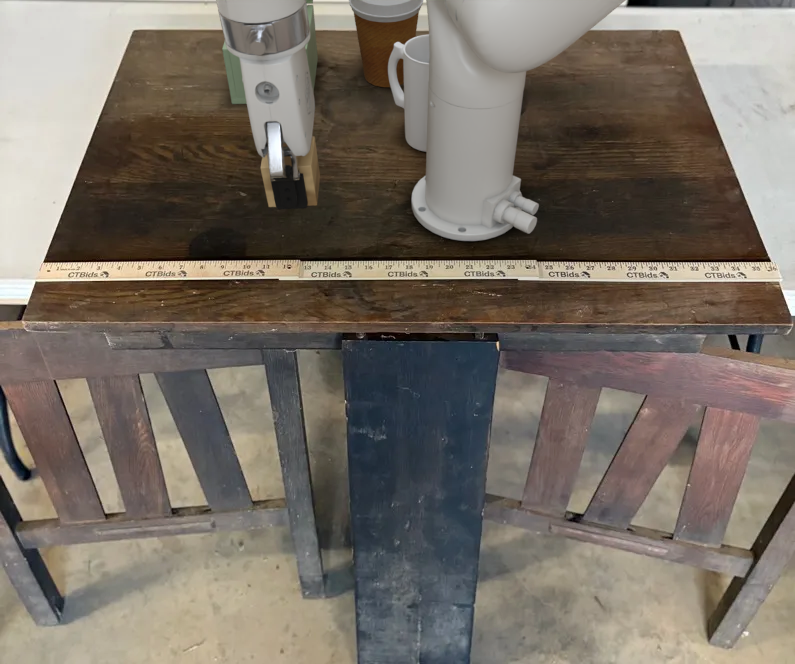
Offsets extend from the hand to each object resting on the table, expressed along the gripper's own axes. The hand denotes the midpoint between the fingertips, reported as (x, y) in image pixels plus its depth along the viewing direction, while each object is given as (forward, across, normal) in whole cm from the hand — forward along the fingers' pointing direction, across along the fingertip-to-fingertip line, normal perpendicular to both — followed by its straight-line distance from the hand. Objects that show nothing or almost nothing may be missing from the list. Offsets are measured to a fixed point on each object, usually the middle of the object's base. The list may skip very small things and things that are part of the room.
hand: (294, 187), depth 83 cm
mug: (+8, +19, -13) cm, 25 cm away
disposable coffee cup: (+8, +33, -9) cm, 35 cm away
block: (+1, 0, 0) cm, 1 cm away
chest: (+7, +32, +6) cm, 33 cm away
